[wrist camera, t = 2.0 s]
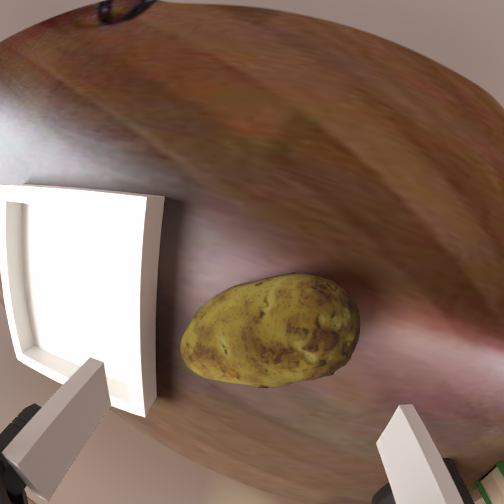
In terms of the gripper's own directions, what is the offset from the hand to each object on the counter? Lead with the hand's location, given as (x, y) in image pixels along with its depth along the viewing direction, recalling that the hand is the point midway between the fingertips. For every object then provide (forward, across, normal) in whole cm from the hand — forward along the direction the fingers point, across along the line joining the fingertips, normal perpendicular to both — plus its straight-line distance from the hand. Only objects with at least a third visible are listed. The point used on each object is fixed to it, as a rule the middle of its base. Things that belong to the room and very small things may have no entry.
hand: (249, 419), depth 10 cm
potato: (+13, 0, 0) cm, 13 cm away
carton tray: (+13, +18, +2) cm, 22 cm away
